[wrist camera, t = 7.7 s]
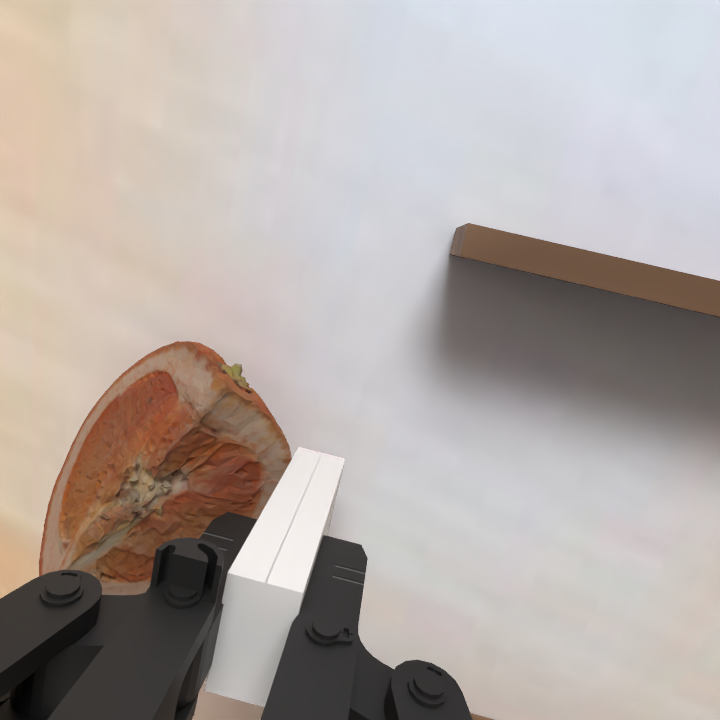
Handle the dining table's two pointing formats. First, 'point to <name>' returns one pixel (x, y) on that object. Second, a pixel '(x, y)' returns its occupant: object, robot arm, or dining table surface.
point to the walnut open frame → (587, 272)
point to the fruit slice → (160, 466)
